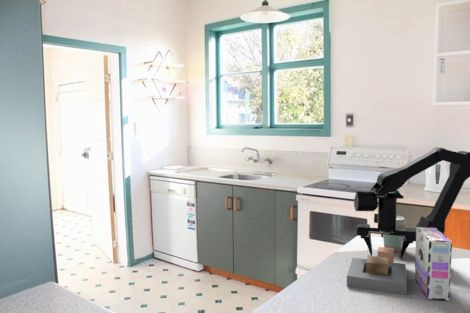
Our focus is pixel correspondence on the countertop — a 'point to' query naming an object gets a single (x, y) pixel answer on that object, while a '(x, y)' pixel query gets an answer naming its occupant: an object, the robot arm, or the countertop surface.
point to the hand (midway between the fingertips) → (386, 257)
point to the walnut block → (377, 265)
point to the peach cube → (386, 253)
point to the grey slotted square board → (378, 277)
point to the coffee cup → (393, 240)
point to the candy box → (433, 263)
